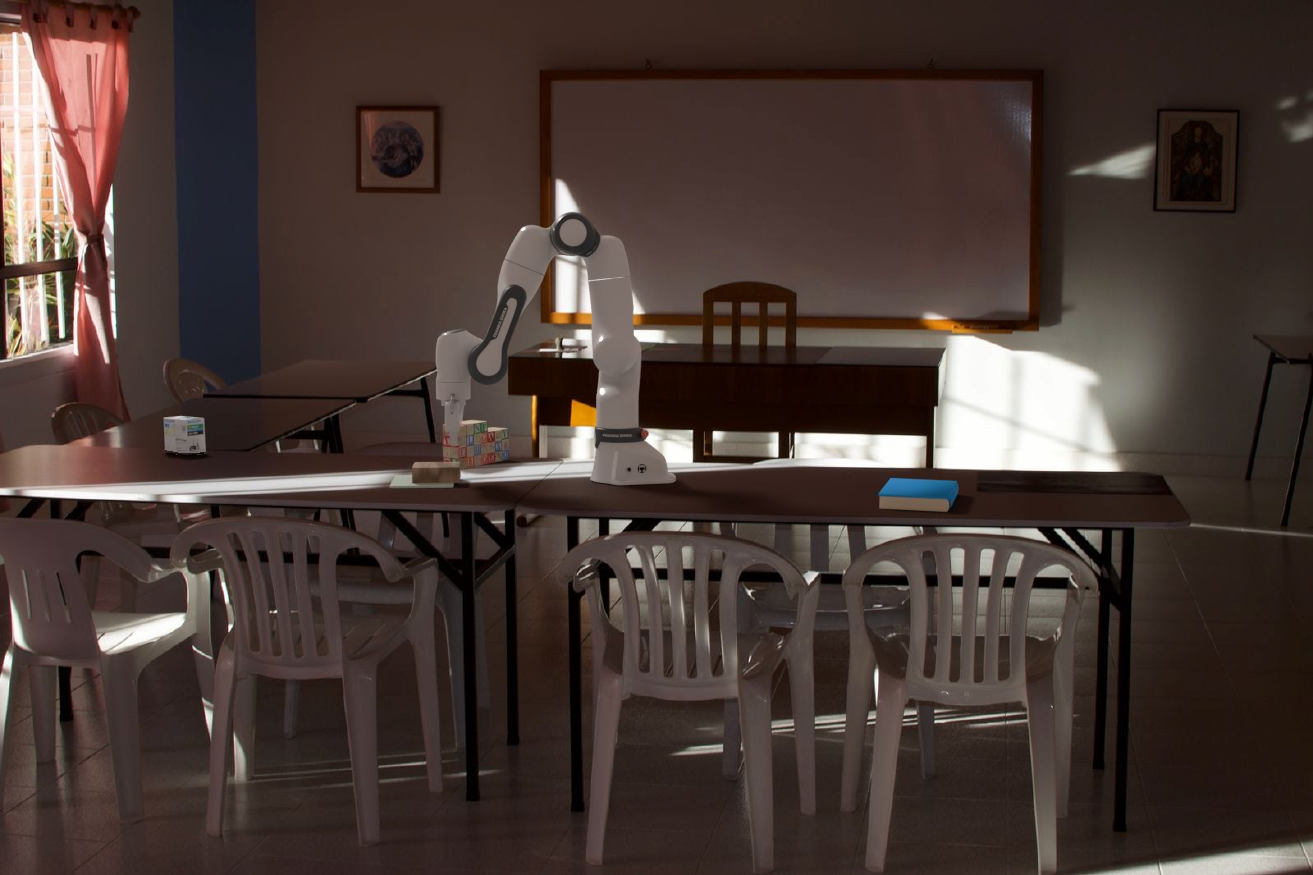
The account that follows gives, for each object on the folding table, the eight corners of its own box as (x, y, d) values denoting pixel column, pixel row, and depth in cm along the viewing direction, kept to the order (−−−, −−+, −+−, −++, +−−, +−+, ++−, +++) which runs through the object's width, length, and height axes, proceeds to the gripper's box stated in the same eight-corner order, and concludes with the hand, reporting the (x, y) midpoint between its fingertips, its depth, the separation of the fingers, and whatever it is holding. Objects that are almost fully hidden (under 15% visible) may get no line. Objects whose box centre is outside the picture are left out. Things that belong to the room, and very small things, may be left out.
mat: (456, 476, 390) (456, 474, 390) (453, 487, 373) (453, 485, 373) (395, 477, 389) (395, 475, 389) (389, 488, 371) (389, 486, 371)
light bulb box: (206, 453, 432) (205, 417, 431) (188, 456, 427) (187, 419, 425) (182, 451, 438) (180, 415, 437) (163, 453, 432) (162, 417, 431)
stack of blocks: (492, 458, 425) (492, 416, 423) (509, 460, 421) (509, 417, 420) (442, 467, 407) (441, 423, 406) (459, 469, 404) (458, 425, 402)
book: (878, 494, 345) (889, 476, 369) (877, 512, 345) (889, 493, 369) (952, 497, 340) (958, 479, 364) (951, 515, 341) (958, 496, 365)
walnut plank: (460, 461, 386) (414, 462, 385) (459, 467, 376) (411, 467, 375) (460, 476, 386) (414, 477, 385) (459, 482, 377) (412, 483, 375)
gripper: (464, 396, 368) (464, 450, 370) (467, 388, 389) (467, 440, 390) (438, 396, 368) (439, 450, 370) (443, 388, 388) (443, 440, 390)
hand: (454, 445), depth 380 cm, fingers closed
